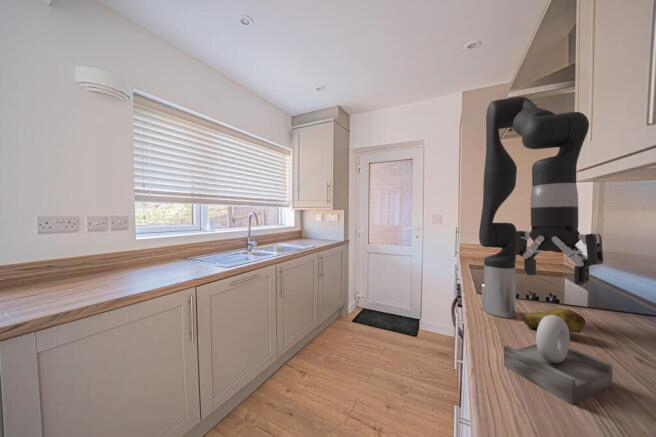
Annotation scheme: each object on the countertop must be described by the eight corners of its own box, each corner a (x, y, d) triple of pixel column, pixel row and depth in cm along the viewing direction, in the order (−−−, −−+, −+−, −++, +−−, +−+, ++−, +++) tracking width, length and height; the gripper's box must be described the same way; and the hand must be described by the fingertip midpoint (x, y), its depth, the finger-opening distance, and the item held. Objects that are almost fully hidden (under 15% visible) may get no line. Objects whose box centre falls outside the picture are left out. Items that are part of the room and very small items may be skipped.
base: (503, 365, 54) (503, 346, 54) (541, 354, 59) (541, 336, 59) (571, 404, 43) (571, 380, 43) (612, 386, 47) (612, 364, 47)
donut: (552, 351, 55) (551, 309, 55) (572, 358, 52) (572, 314, 52) (533, 363, 50) (532, 317, 50) (554, 372, 47) (554, 323, 47)
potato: (533, 322, 78) (532, 298, 78) (589, 339, 66) (588, 311, 66) (520, 327, 74) (520, 302, 74) (577, 346, 62) (577, 317, 62)
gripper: (610, 204, 45) (610, 286, 45) (527, 207, 59) (527, 271, 59) (588, 203, 43) (589, 290, 43) (507, 207, 56) (507, 273, 56)
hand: (553, 279), depth 51 cm, fingers open, 8 cm apart
